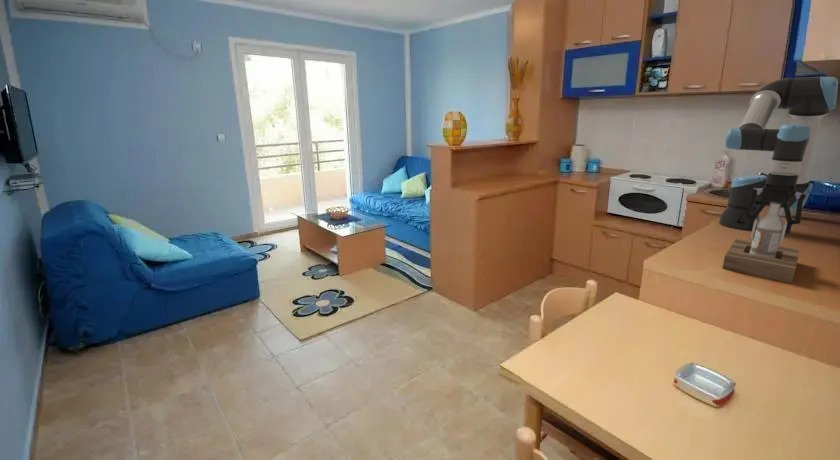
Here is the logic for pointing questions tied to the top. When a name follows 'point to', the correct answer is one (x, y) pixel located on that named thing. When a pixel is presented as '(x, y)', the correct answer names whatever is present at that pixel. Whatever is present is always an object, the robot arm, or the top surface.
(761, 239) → the bath foam
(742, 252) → the walnut holder
